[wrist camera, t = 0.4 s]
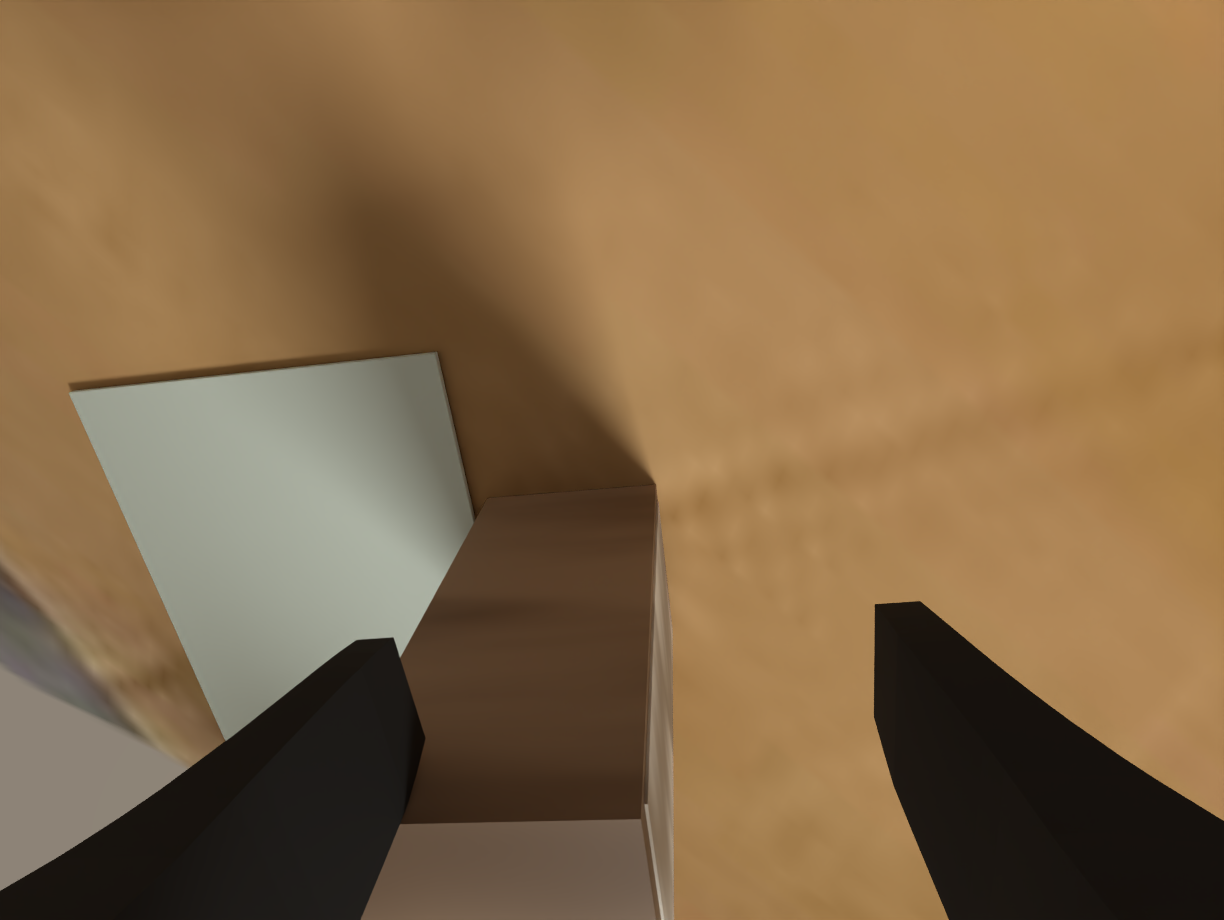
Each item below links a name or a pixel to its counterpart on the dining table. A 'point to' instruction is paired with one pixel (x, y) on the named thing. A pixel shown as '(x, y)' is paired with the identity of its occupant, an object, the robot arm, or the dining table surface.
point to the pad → (286, 511)
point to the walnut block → (543, 721)
